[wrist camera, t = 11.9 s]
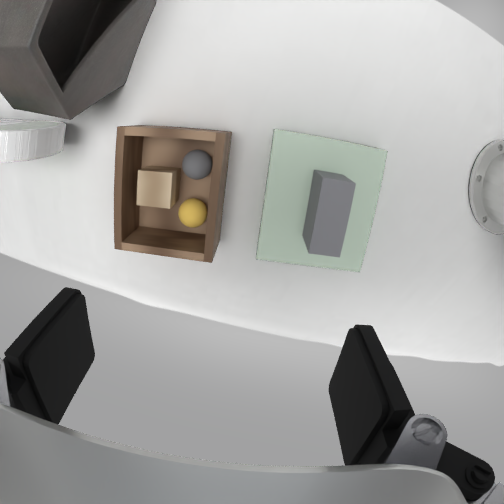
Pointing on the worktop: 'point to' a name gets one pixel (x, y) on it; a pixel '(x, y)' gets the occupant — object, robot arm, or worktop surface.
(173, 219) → the wooden box
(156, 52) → the worktop surface
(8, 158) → the cutout
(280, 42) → the worktop surface
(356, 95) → the worktop surface
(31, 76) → the planter
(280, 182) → the lid
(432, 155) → the worktop surface
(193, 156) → the ball grey
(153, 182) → the beech cube
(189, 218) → the ball mustard
